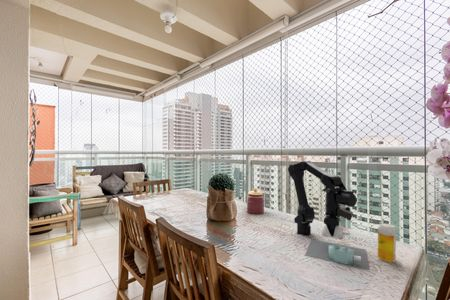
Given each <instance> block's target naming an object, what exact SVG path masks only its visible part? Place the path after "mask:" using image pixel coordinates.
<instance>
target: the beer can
mask: <svg viewBox="0 0 450 300" xmlns="http://www.w3.org/2000/svg"><path fill="white" fill-rule="evenodd" d="M396 231H397V230H396V227H395V225H394V224H391V223H384V222H382V223H379V224H378V226H377V258H378V259H379V260H381V261H383V262H385V263H394V262H396V259H397V258H396V254H397V253H396V252H397V251H396V247H397V242H396V241H397V240H396V239H397V237H396V236H397V232H396Z"/></svg>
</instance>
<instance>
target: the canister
mask: <svg viewBox="0 0 450 300" xmlns="http://www.w3.org/2000/svg"><path fill="white" fill-rule="evenodd" d="M246 197H247V200H246V212H247V213H248V214H251V215H262V214H264V213H265V200H264V198H265V196H264V192H262V191H261V190H258V189H257V188H253V190H250V191H249V192H247V195H246Z"/></svg>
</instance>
